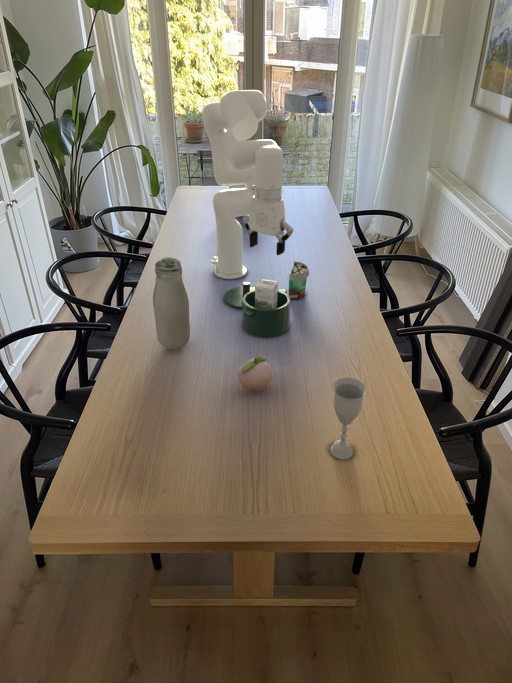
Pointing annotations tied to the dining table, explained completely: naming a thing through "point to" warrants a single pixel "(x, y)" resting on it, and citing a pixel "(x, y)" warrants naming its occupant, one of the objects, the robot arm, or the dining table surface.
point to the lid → (237, 295)
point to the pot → (266, 316)
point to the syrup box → (266, 294)
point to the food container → (298, 280)
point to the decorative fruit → (255, 374)
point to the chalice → (346, 411)
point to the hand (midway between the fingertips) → (266, 249)
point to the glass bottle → (171, 304)
